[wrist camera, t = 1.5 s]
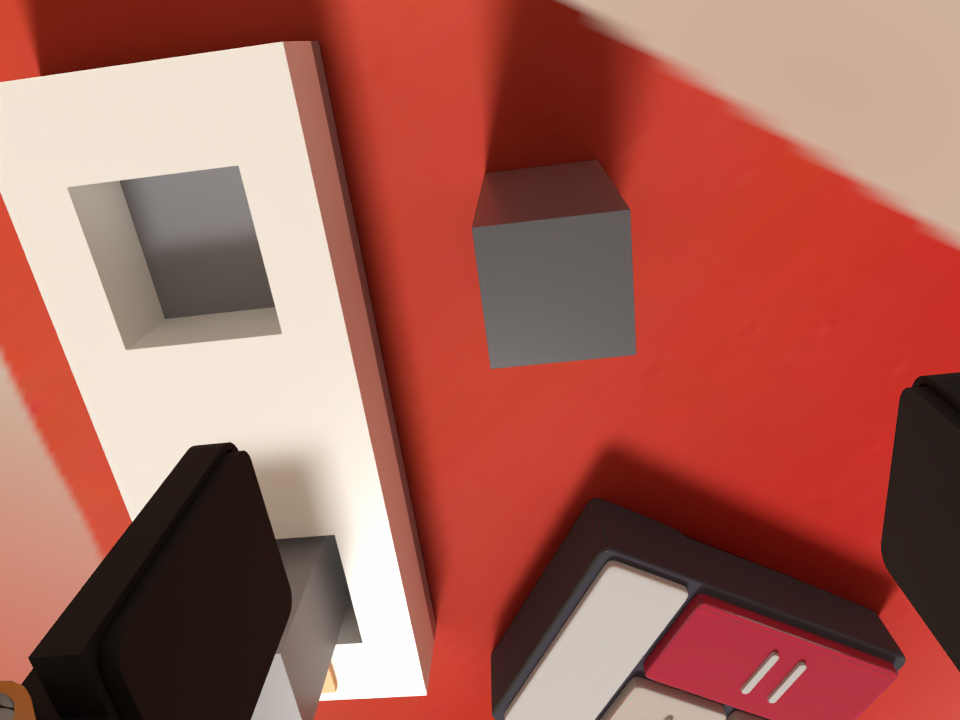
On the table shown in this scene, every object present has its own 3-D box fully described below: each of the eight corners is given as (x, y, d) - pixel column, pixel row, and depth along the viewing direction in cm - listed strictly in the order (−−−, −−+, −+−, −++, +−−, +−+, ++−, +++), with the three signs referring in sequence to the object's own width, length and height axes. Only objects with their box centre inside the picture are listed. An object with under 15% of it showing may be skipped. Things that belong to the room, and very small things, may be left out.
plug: (597, 159, 25) (630, 209, 18) (603, 268, 27) (636, 354, 19) (484, 173, 25) (471, 228, 18) (498, 279, 27) (491, 368, 20)
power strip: (318, 40, 24) (279, 41, 20) (436, 625, 34) (426, 701, 30) (40, 80, 25) (-49, 88, 21) (238, 637, 35) (203, 712, 31)
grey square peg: (336, 506, 31) (280, 653, 23) (355, 579, 32) (307, 738, 25) (247, 513, 31) (164, 660, 24) (270, 585, 33) (198, 743, 25)
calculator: (772, 821, 34) (488, 735, 32) (742, 739, 38) (487, 656, 35) (922, 673, 30) (607, 559, 27) (871, 598, 34) (591, 491, 31)
